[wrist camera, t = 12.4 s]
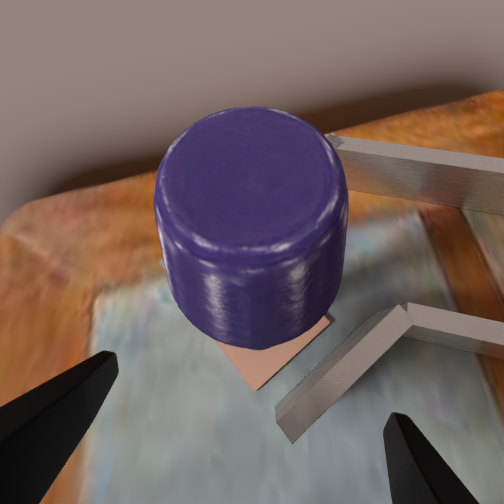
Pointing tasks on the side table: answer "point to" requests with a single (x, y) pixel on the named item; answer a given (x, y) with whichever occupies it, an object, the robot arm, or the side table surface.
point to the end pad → (268, 356)
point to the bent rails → (408, 314)
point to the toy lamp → (252, 225)
